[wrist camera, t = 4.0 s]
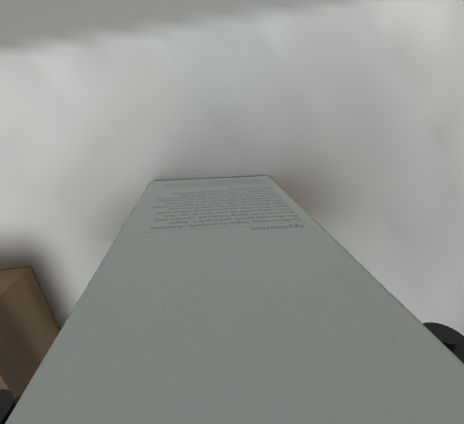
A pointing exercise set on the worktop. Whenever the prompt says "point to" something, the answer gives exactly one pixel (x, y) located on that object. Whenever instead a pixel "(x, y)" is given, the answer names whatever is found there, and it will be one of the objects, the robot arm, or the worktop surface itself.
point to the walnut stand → (23, 328)
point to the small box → (238, 325)
